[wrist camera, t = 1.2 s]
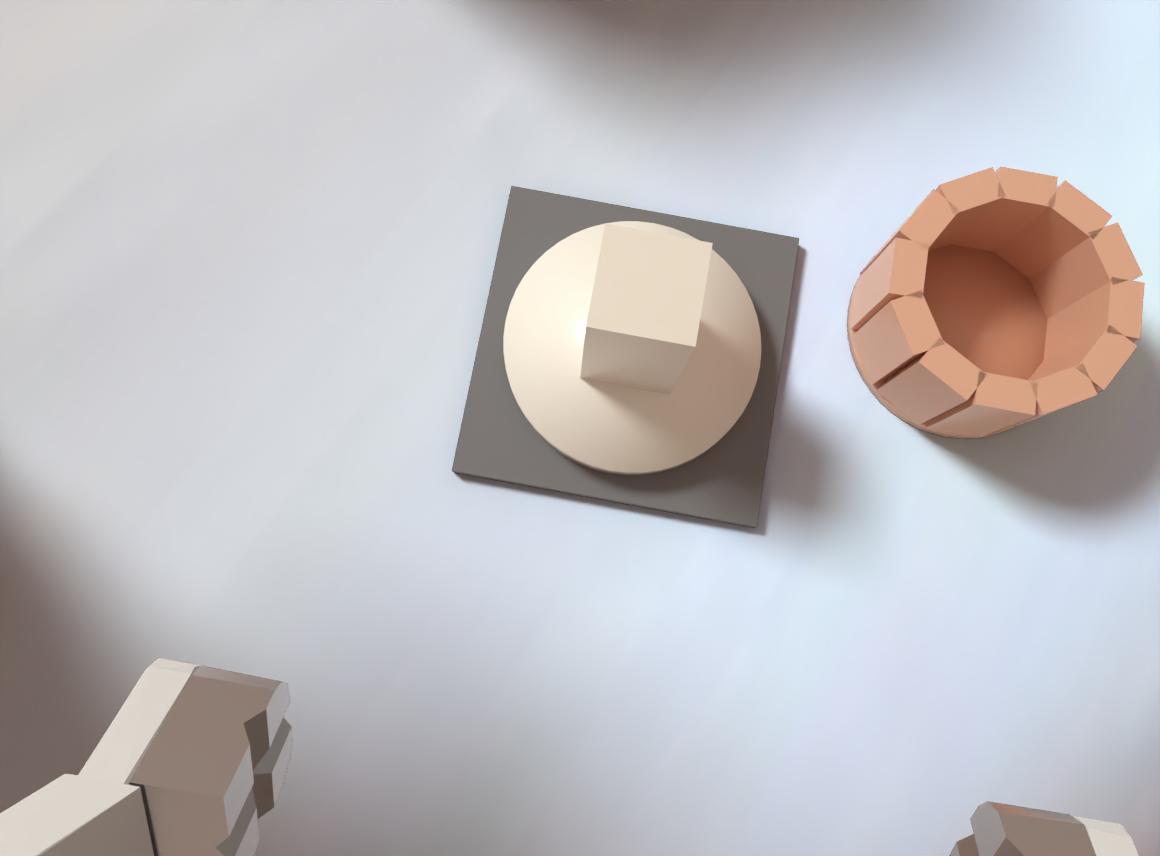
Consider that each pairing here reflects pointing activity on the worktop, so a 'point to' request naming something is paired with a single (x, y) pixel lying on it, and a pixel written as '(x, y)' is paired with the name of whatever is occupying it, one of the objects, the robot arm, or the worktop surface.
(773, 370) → the rubber mat
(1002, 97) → the worktop surface
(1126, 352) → the bowl
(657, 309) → the lid
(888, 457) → the worktop surface
